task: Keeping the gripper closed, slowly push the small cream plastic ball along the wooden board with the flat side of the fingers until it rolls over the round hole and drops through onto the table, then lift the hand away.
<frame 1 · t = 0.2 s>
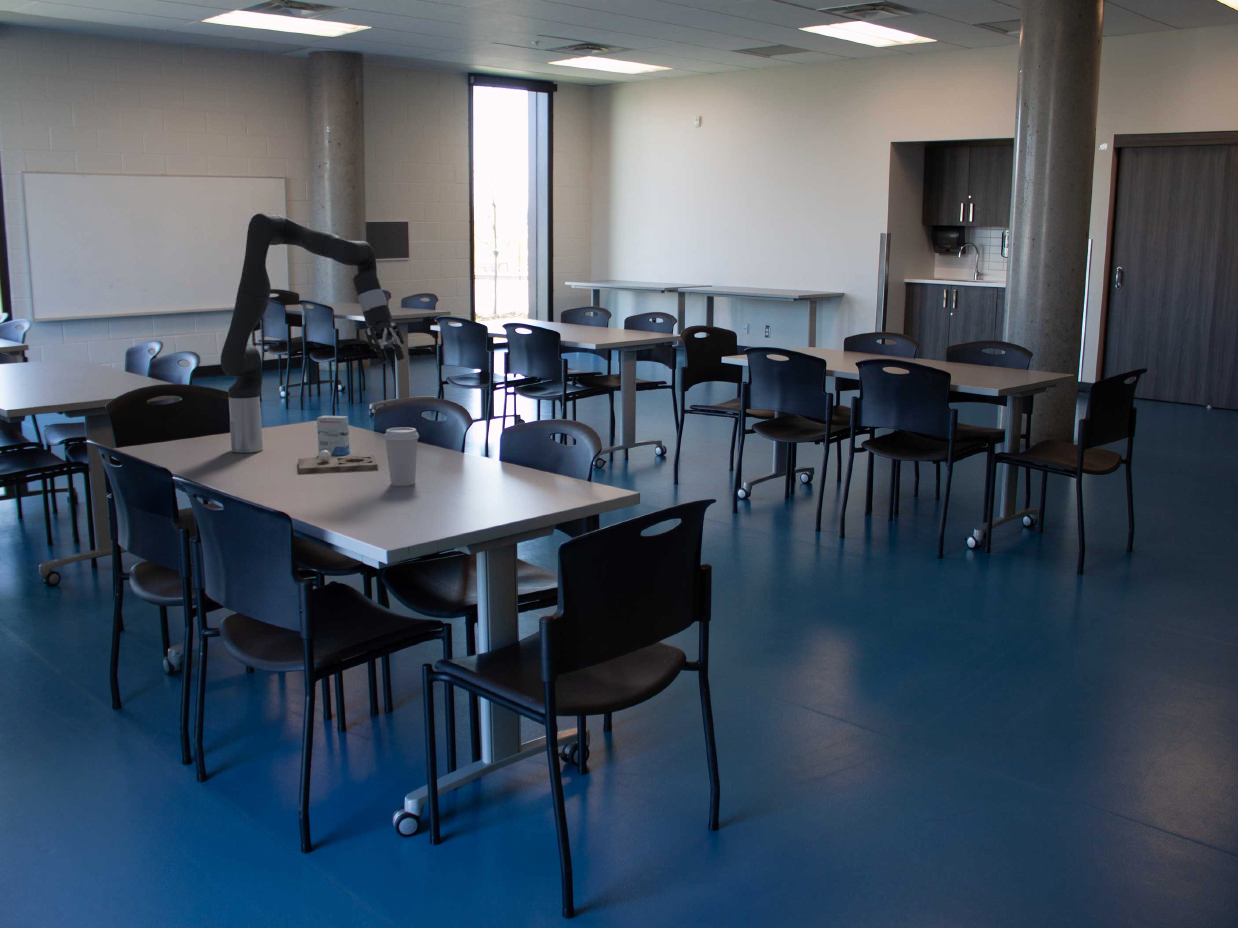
hand: (392, 361, 315), 31 cm above the table, tool tilted 20°, fingers open, 8 cm apart
ink box: (334, 454, 340), on the table
coffee cup: (403, 484, 298), on the table
wooden board: (337, 466, 320), on the table
ball: (324, 456, 319), point 3 cm above the table, touching wooden board
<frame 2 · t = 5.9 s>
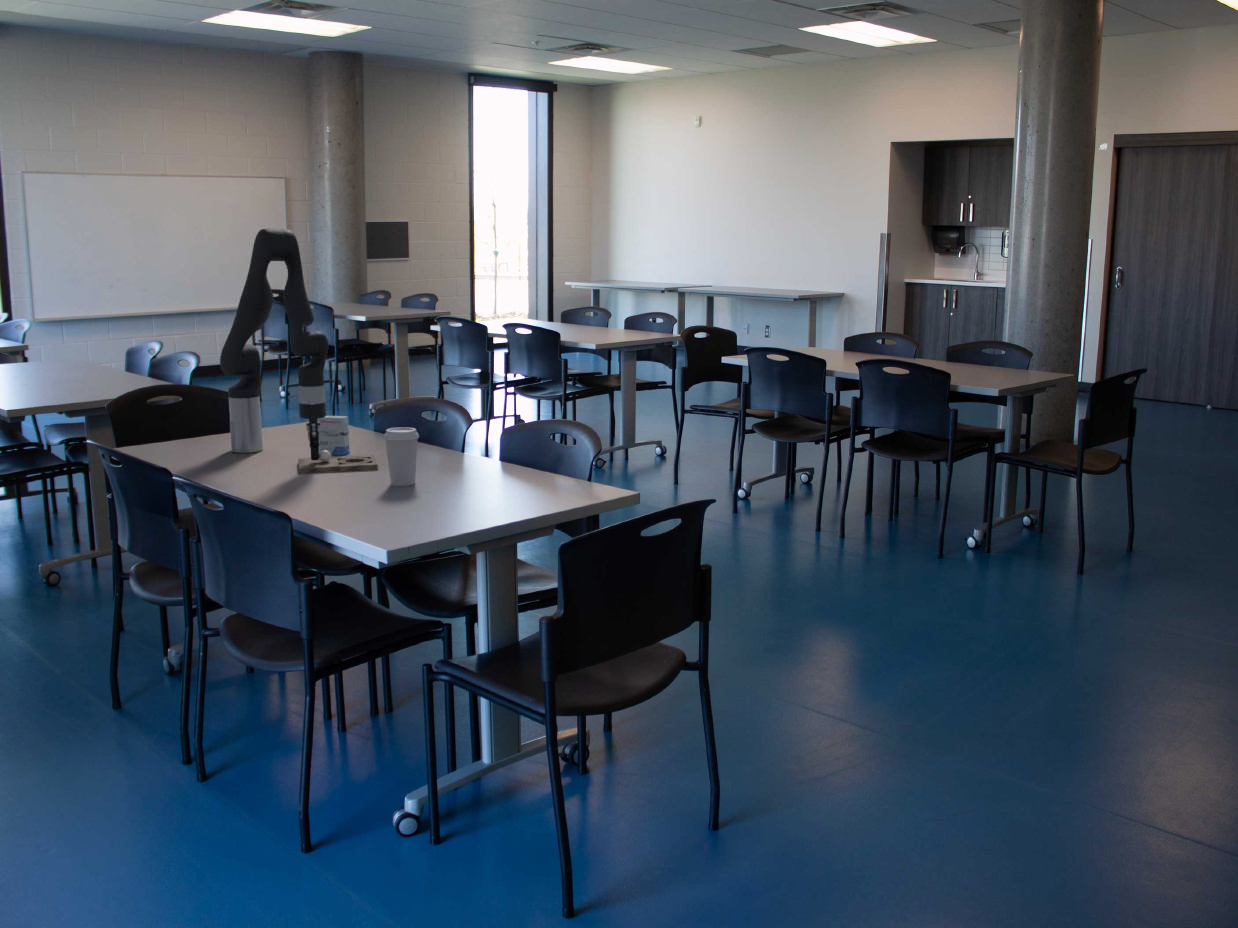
hand: (315, 459, 318), 2 cm above the table, tool pointing down, fingers closed
ball: (324, 456, 319), point 3 cm above the table, touching wooden board, gripper
everything else where it was.
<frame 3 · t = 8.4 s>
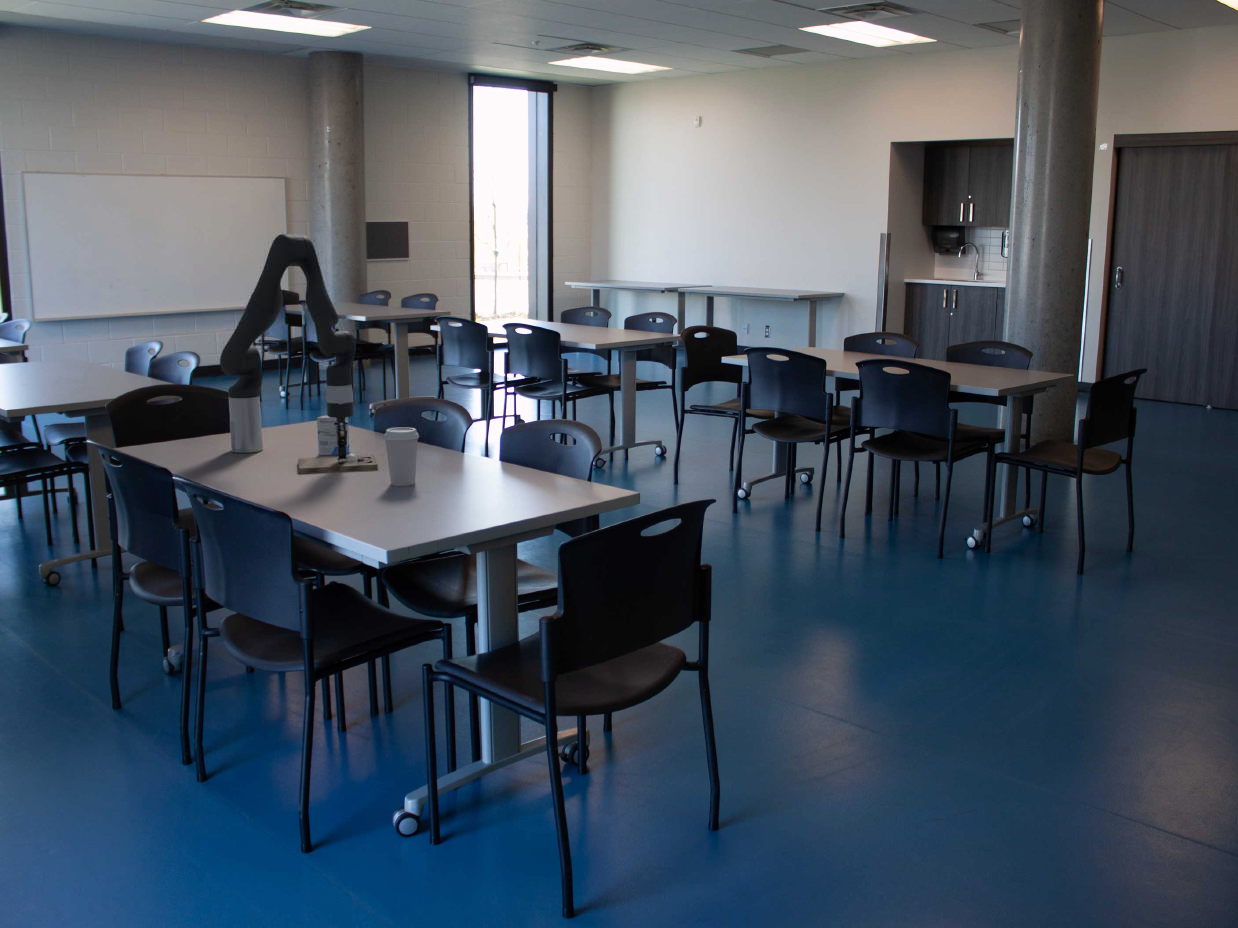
hand: (342, 458, 320), 2 cm above the table, tool pointing down, fingers closed
ball: (351, 459, 321), point 2 cm above the table, tilted 153°, touching gripper
everything else where it was.
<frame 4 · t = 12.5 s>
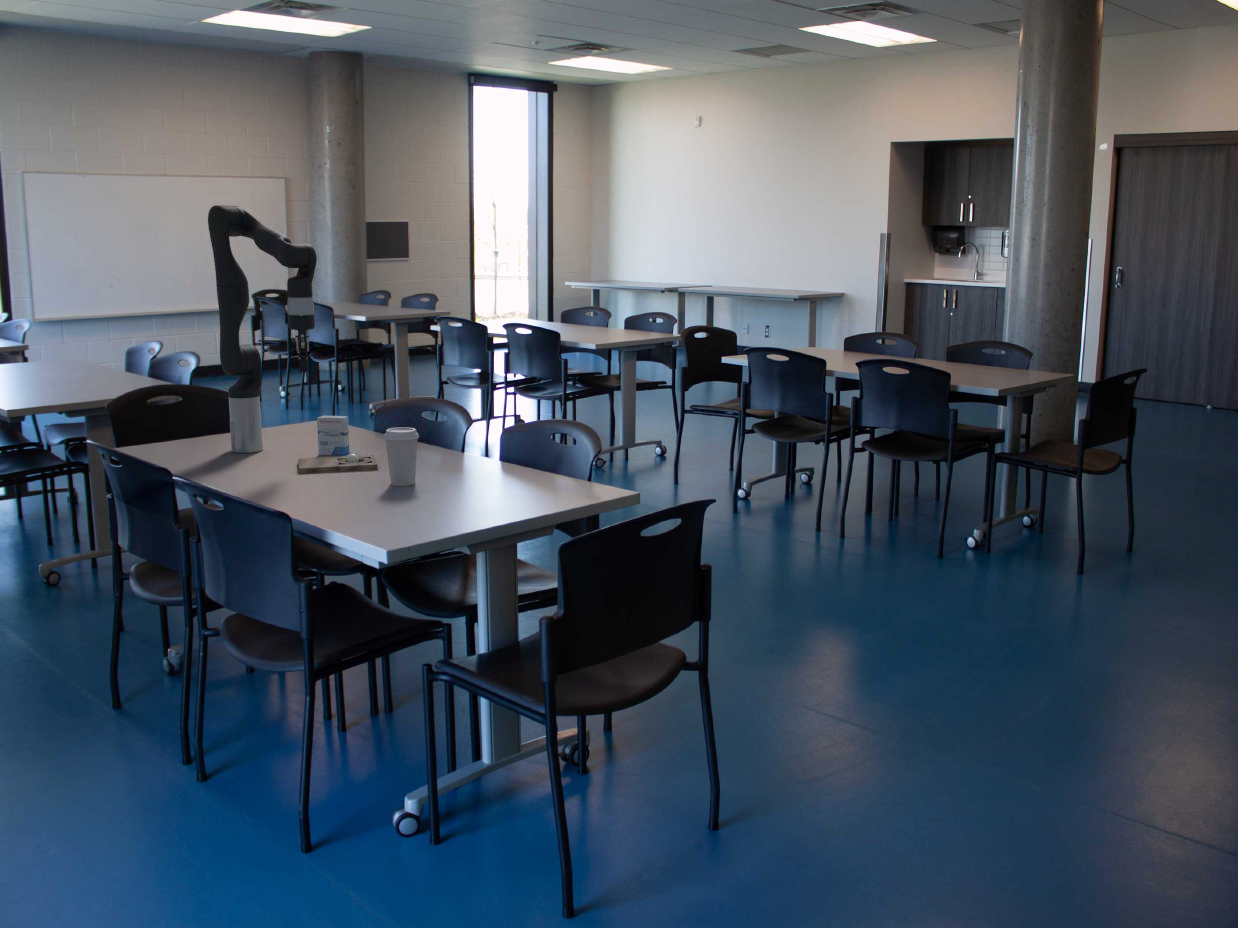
hand: (303, 371, 322), 27 cm above the table, tool pointing down, fingers closed
ball: (352, 459, 321), point 2 cm above the table, tilted 142°
everything else where it was.
at the end: ball 0.6 cm from the target spot in the wooden board, point 1.7 cm above the wooden board's base; ball touching table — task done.
